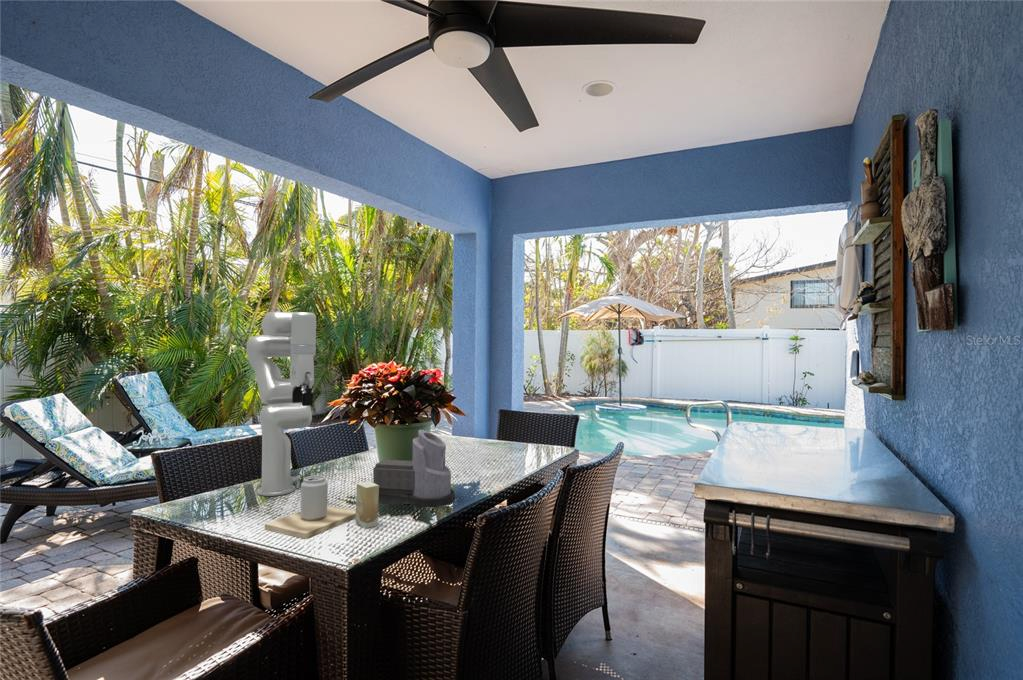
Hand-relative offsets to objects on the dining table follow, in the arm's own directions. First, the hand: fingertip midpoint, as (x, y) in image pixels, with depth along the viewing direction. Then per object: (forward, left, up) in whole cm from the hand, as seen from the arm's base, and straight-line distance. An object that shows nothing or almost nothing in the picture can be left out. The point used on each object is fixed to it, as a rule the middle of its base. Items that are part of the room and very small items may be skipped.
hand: (302, 404), depth 174 cm
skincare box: (0, +27, -34) cm, 44 cm away
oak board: (+6, +12, -34) cm, 37 cm away
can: (+6, +12, -33) cm, 36 cm away
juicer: (-27, +25, -35) cm, 51 cm away
